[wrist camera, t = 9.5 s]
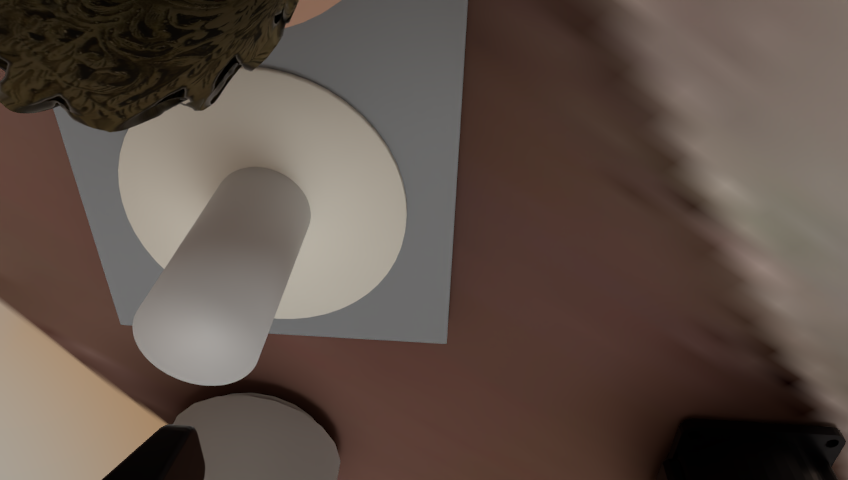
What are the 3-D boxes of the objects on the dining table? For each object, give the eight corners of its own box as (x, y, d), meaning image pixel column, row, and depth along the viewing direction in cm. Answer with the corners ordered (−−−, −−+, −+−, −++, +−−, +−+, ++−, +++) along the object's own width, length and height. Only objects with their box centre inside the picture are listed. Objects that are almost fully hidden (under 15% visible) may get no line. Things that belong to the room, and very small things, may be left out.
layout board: (497, -492, 13) (526, -781, 6) (447, 321, 24) (440, 498, 18) (-99, -502, 13) (-617, -783, 7) (134, 303, 25) (23, 470, 19)
